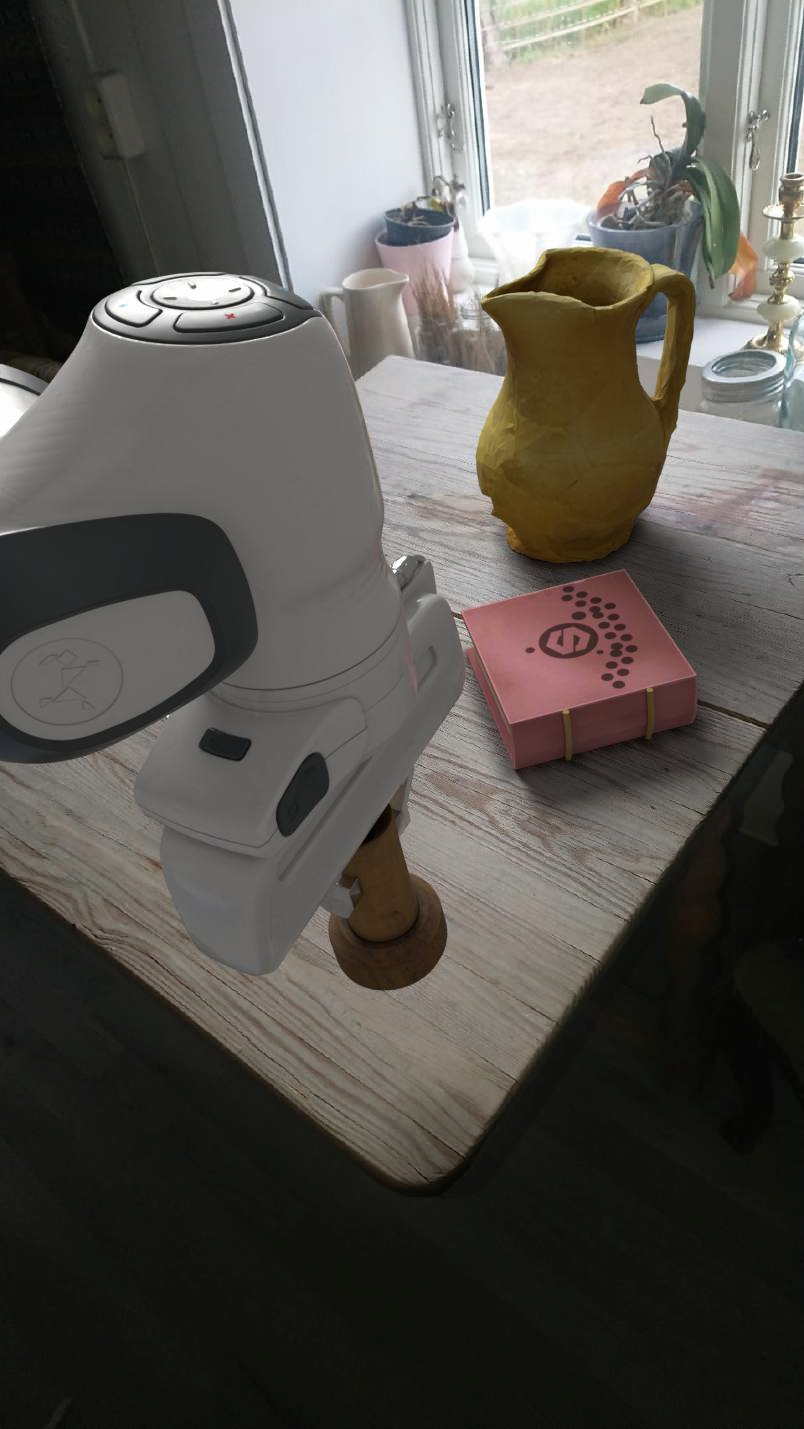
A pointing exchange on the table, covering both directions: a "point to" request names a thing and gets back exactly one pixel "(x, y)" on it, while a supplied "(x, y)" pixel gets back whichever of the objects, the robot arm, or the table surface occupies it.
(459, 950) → the table surface
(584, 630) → the book
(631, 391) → the pitcher
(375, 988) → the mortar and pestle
